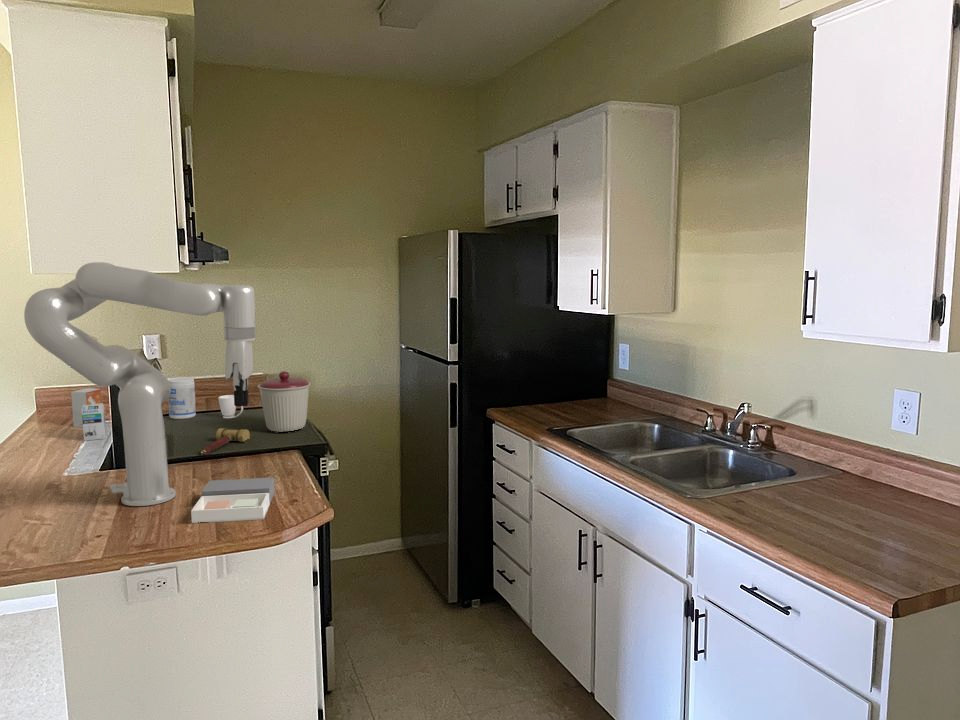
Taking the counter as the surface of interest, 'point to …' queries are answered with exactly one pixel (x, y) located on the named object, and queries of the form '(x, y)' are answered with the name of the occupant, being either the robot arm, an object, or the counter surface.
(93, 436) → the light bulb box
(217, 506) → the tile
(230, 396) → the cup
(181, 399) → the supplement tub
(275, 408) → the canister
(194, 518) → the tray
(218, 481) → the plate
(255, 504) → the tile
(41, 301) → the robot arm
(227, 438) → the gavel
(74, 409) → the small box
